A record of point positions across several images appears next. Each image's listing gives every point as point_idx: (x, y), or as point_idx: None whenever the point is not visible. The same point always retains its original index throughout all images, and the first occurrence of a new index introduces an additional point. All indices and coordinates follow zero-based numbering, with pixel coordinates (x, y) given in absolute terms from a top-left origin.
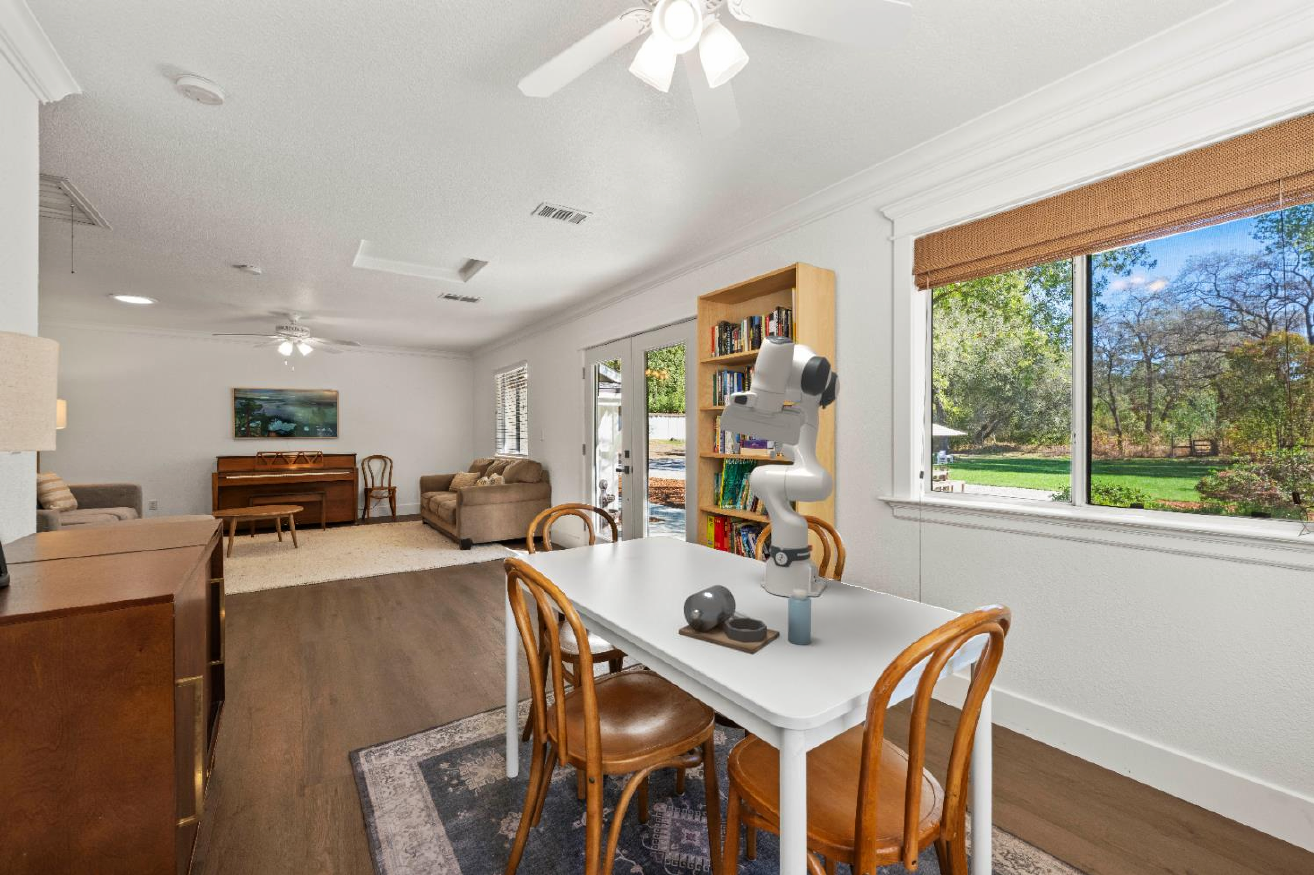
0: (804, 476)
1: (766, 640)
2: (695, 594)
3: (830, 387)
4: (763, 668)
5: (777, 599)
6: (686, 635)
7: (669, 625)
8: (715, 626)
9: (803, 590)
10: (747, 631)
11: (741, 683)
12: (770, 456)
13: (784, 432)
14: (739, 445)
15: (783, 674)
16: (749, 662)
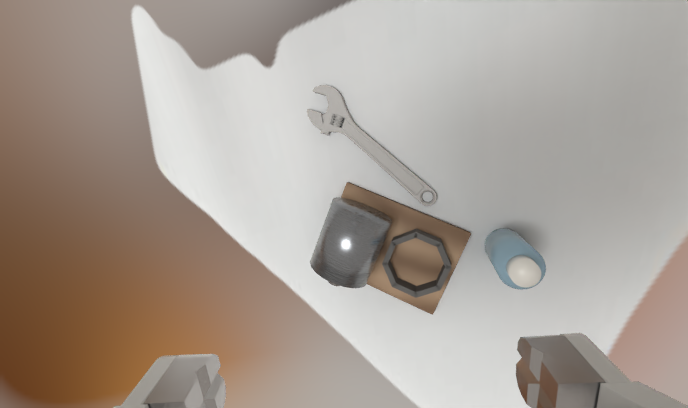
0: None
1: (450, 275)
2: (323, 277)
3: None
4: (451, 353)
5: (460, 21)
6: None
7: (298, 229)
8: None
9: (533, 273)
10: (421, 295)
11: (426, 397)
12: (533, 402)
13: None
14: (198, 400)
15: (478, 367)
16: (430, 338)
